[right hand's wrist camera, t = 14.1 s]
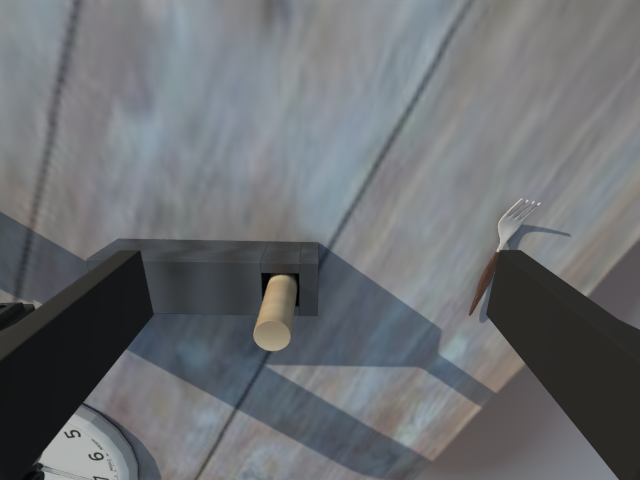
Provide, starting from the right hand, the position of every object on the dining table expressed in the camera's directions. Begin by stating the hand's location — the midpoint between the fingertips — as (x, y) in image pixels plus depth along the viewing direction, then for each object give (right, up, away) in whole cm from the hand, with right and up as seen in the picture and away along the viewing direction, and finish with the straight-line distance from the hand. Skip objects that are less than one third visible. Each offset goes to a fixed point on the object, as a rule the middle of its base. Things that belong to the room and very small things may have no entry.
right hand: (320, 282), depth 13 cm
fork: (+21, -1, +29) cm, 36 cm away
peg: (-4, -1, +29) cm, 30 cm away
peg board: (-12, -1, +29) cm, 32 cm away
